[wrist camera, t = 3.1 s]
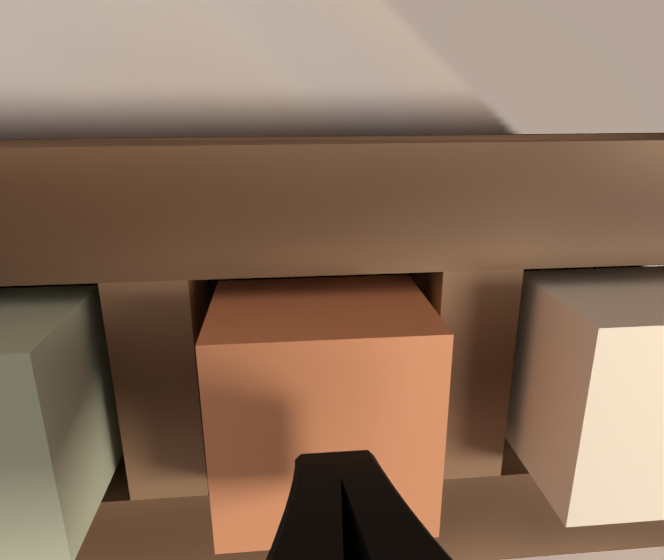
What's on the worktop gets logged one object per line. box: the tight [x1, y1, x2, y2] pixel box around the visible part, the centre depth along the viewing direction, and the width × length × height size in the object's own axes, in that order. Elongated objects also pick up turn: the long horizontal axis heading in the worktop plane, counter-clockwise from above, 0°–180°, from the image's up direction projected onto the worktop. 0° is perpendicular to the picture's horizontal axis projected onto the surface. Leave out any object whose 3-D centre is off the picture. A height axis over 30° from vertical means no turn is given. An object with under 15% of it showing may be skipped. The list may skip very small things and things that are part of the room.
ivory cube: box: [505, 266, 664, 527], centre depth 14 cm, size 5×5×4 cm
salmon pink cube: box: [195, 275, 454, 554], centre depth 13 cm, size 5×5×4 cm
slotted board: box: [0, 133, 664, 560], centre depth 15 cm, size 12×24×3 cm, turn 90°
